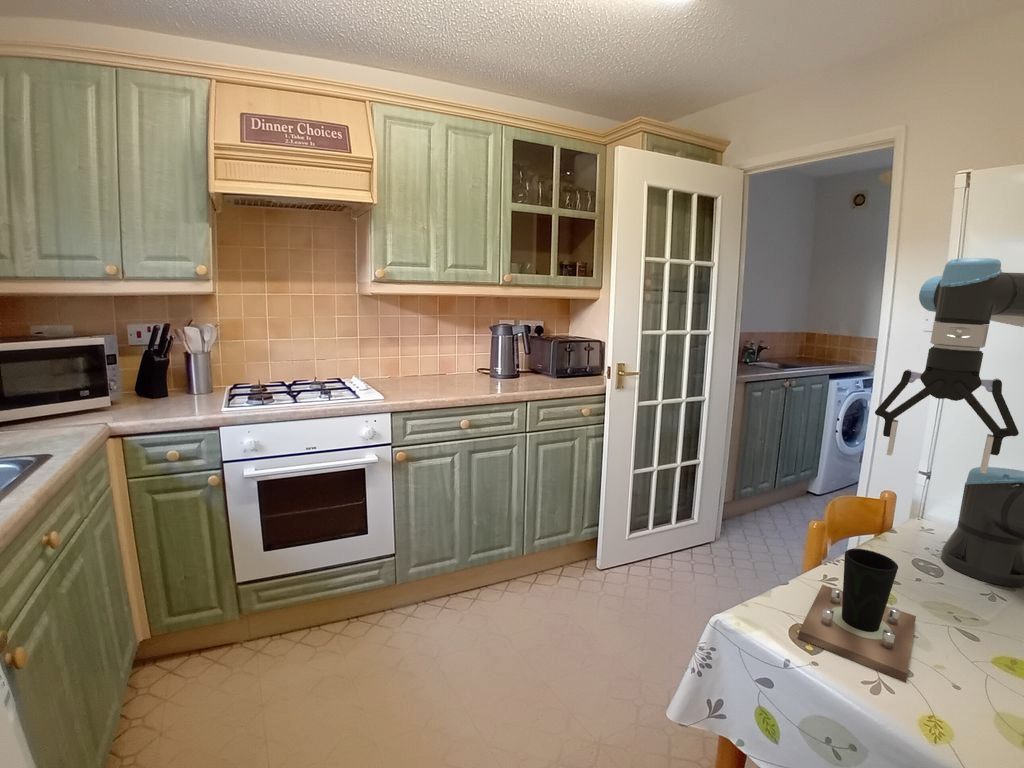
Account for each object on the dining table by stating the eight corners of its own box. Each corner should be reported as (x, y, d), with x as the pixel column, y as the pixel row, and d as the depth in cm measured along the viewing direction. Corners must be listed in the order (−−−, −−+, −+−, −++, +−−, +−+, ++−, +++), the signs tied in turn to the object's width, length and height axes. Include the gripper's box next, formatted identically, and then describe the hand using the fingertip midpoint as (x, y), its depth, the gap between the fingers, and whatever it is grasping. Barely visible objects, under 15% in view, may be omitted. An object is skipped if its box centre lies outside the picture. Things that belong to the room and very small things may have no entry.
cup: (895, 639, 89) (907, 573, 87) (845, 631, 90) (856, 567, 88) (874, 612, 96) (885, 551, 94) (828, 606, 98) (838, 545, 96)
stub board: (914, 623, 96) (918, 603, 96) (905, 682, 81) (910, 658, 81) (821, 591, 106) (824, 572, 105) (798, 638, 91) (801, 617, 90)
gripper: (869, 342, 99) (852, 451, 103) (1058, 357, 83) (1029, 485, 87) (874, 340, 105) (857, 443, 108) (1052, 354, 89) (1025, 474, 93)
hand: (934, 462), depth 98 cm, fingers open, 13 cm apart
